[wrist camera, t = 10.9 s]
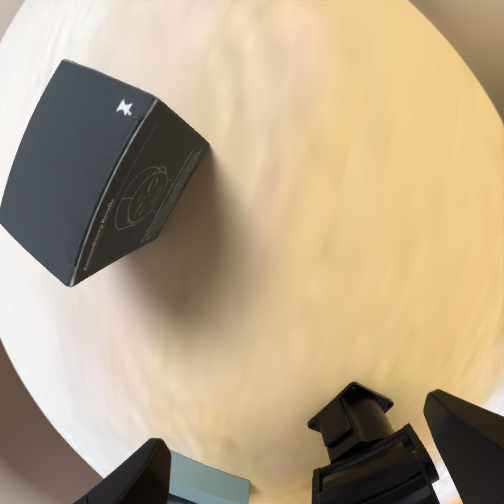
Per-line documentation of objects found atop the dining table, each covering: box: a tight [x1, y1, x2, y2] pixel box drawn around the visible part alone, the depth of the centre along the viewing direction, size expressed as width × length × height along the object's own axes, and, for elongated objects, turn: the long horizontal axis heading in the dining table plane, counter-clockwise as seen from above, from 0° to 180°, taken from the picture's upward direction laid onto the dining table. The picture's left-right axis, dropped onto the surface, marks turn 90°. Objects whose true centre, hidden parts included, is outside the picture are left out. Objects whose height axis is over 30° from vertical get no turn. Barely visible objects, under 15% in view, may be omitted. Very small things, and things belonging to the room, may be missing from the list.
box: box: [0, 59, 210, 287], centre depth 13 cm, size 8×6×11 cm
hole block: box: [169, 449, 249, 504], centre depth 24 cm, size 12×12×4 cm
